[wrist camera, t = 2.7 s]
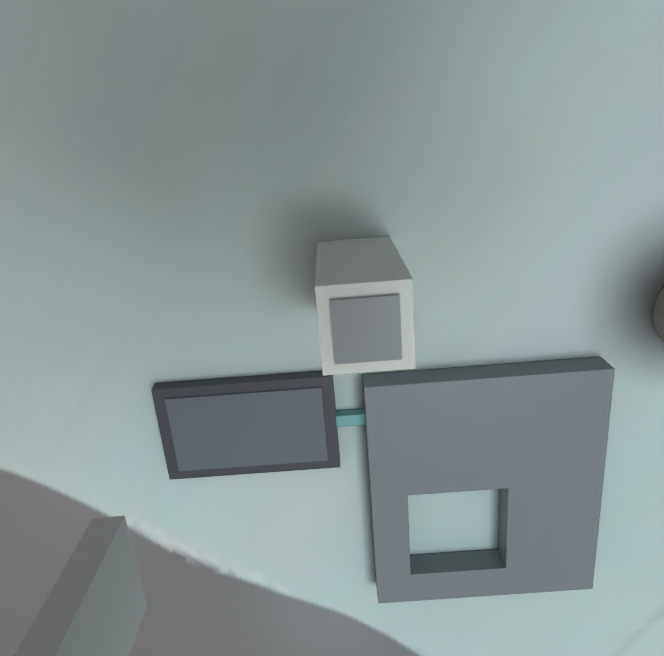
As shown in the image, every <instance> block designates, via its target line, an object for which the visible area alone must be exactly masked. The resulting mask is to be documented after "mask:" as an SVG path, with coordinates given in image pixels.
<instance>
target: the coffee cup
mask: <svg viewBox="0 0 664 656" xmlns="http://www.w3.org/2000/svg"><path fill="white" fill-rule="evenodd" d="M653 324H654V328H655V330H656V332H657V334H658V335H659V337H660V338H661V339H662V340H663V341H664V287H663V288H662V290H661V291H660V293H659V294H658V296H657V298H656V301H655V304H654V307H653Z"/></svg>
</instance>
